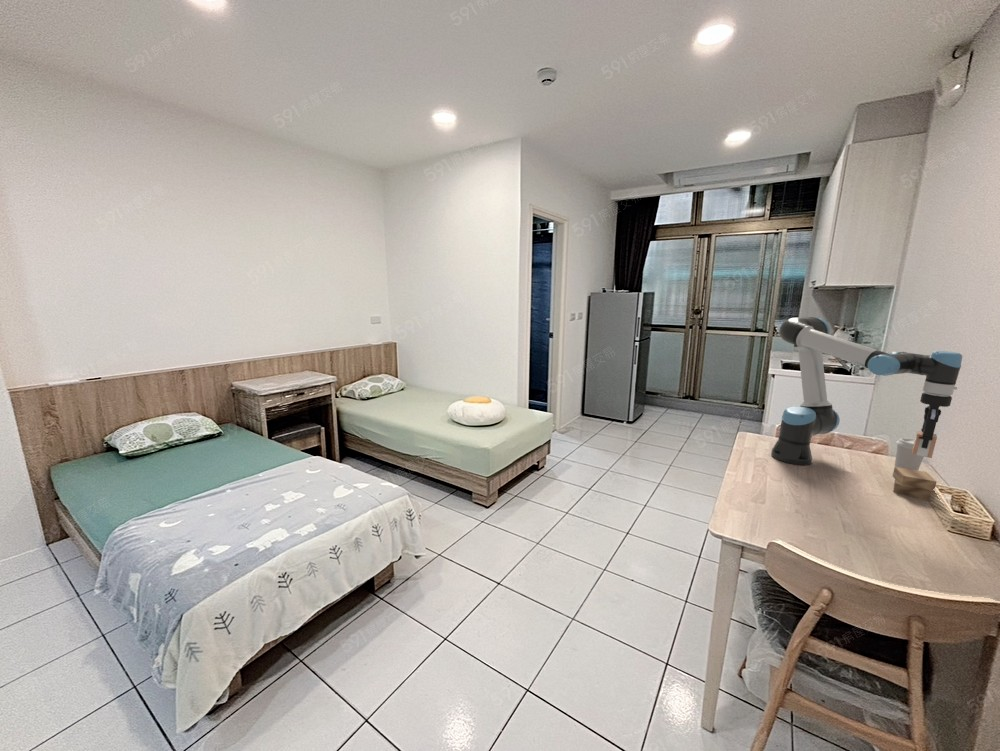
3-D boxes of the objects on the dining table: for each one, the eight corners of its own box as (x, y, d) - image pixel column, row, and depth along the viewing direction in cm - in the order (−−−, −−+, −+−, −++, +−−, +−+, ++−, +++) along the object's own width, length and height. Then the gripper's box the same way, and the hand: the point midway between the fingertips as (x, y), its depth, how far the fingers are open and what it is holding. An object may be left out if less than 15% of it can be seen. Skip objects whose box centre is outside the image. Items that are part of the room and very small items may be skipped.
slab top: (901, 485, 151) (903, 475, 151) (892, 475, 159) (894, 466, 158) (934, 491, 147) (936, 481, 146) (923, 481, 155) (925, 471, 154)
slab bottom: (892, 492, 154) (895, 483, 153) (893, 484, 161) (896, 475, 160) (928, 502, 148) (931, 492, 147) (927, 493, 154) (930, 483, 153)
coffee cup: (906, 470, 173) (915, 437, 169) (927, 480, 163) (936, 446, 160) (882, 468, 173) (890, 436, 170) (902, 479, 164) (910, 445, 161)
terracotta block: (912, 454, 150) (917, 434, 149) (912, 450, 154) (917, 430, 152) (931, 458, 147) (936, 437, 145) (931, 454, 150) (936, 434, 149)
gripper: (954, 400, 136) (937, 463, 141) (950, 391, 149) (935, 449, 154) (922, 396, 142) (907, 457, 147) (922, 387, 154) (907, 444, 159)
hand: (921, 453), depth 150 cm, fingers closed on terracotta block, 5 cm apart
